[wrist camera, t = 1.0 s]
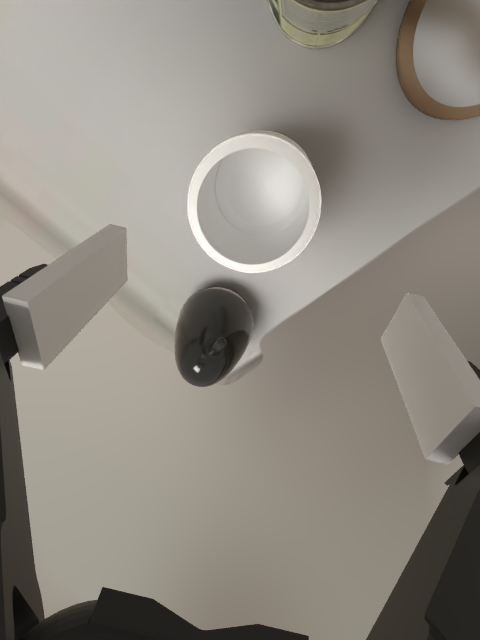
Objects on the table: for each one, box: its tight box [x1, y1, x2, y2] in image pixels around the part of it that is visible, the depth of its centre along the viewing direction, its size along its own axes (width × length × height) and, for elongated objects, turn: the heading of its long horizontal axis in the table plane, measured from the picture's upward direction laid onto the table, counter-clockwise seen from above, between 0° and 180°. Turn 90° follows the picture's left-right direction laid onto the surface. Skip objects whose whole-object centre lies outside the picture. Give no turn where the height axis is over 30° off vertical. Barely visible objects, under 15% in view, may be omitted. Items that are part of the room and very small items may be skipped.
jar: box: [187, 130, 322, 273], centre depth 31 cm, size 11×10×15 cm
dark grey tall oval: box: [175, 287, 254, 387], centre depth 41 cm, size 10×10×15 cm
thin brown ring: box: [396, 0, 480, 120], centre depth 28 cm, size 13×13×2 cm
